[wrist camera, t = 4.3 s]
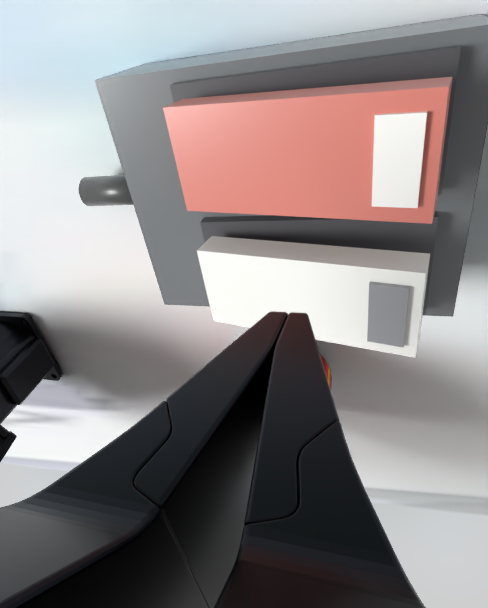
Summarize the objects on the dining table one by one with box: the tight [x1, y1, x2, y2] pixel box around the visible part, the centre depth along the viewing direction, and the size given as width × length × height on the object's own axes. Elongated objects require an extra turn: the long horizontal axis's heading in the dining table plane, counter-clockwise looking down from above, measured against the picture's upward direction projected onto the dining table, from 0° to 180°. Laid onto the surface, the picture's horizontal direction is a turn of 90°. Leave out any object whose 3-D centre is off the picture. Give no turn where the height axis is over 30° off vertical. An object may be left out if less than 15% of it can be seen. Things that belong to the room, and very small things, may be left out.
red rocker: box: [163, 77, 452, 224], centre depth 13 cm, size 8×3×1 cm, turn 99°
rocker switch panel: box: [79, 14, 488, 316], centre depth 18 cm, size 17×10×4 cm, turn 99°
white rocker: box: [197, 236, 430, 358], centre depth 15 cm, size 8×3×1 cm, turn 99°
